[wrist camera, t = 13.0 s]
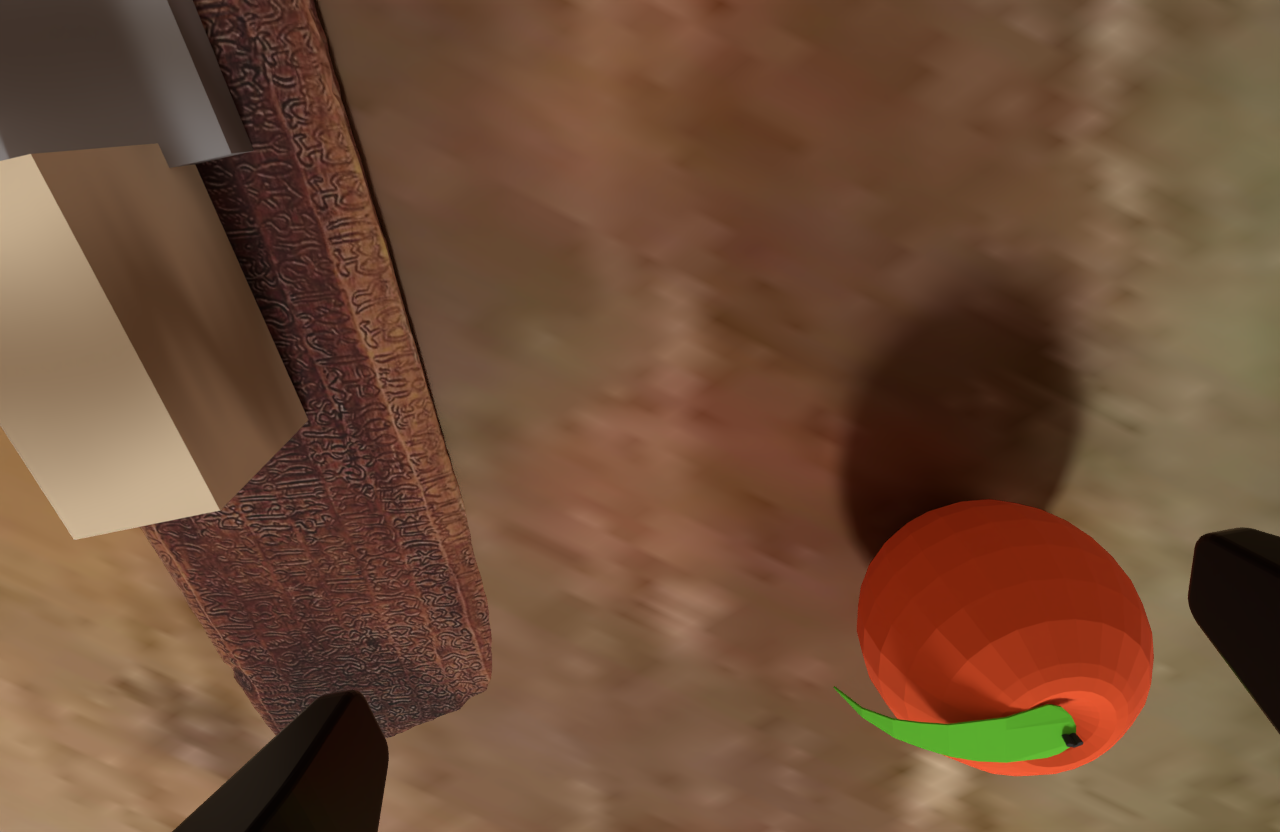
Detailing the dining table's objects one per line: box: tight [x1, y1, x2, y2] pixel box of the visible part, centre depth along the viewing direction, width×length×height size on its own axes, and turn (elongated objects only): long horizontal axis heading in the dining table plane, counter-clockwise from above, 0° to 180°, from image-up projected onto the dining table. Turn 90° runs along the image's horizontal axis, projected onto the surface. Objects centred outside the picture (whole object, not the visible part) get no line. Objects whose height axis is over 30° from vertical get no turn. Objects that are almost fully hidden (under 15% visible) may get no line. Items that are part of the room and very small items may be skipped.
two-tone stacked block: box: [0, 0, 308, 540], centre depth 14 cm, size 11×6×4 cm, turn 11°
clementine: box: [834, 499, 1154, 776], centre depth 19 cm, size 8×7×7 cm
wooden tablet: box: [140, 0, 492, 738], centre depth 19 cm, size 26×2×10 cm
